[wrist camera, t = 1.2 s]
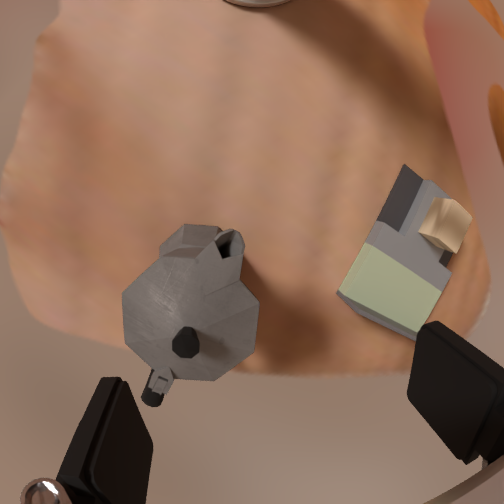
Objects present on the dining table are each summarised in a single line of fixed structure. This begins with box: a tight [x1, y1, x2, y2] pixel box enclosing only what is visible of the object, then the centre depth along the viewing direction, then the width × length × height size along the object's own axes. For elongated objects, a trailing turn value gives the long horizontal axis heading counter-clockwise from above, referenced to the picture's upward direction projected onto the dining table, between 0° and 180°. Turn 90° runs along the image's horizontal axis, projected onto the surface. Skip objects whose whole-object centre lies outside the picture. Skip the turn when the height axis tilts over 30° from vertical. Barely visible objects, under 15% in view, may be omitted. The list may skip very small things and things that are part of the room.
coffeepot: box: [122, 224, 260, 407], centre depth 25 cm, size 15×9×18 cm, turn 152°
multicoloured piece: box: [336, 164, 453, 341], centre depth 34 cm, size 18×14×6 cm
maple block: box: [418, 197, 473, 254], centre depth 32 cm, size 5×4×4 cm
